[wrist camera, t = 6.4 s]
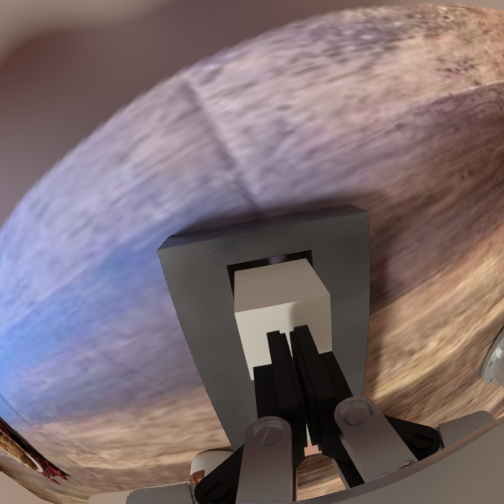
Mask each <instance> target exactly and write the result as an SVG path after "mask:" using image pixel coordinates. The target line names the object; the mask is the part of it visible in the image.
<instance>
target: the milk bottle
mask: <svg viewBox="0 0 504 504" xmlns="http://www.w3.org/2000/svg"><path fill="white" fill-rule="evenodd" d="M233 453H234V452H232V451H208V452H204V453H200V454H198V455H197V456H195V458H194V459H193V460H192V465H191V474H190V484H195V483H198V482H199V481H200V480H201V479H203V478H204V477H205V476H206V475H208V474H209V473H210V472H211V471H213V470H214V469H215V468H216V467H217V466H219V465H220V464H221V463H222V462H223V461H225V460H226V459H227V458H228V457H229V456H230V455H232V454H233Z"/></svg>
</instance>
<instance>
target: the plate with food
mask: <svg viewBox="0 0 504 504" xmlns="http://www.w3.org/2000/svg"><path fill="white" fill-rule="evenodd" d="M0 421H1V422H2V423H4V425H5V422H3V421H2V419H1V418H0ZM5 427H6V428H7V429H9V428H8V426H7V425H5ZM5 427H4V426H3V425H2V424H1V423H0V449H2V450H3V451H4V452H5V453H6V454H8V455H9V456H11V457H12V458H14V459H15V460H17V461H18V462H19V463H21V464H23V465H25V466H26V467H28V468H30V469H32V470H34V471H36V472H39V473H42V474H43V475H44V476H47V477H48V478H49V479H50V476H51V473H52V476H54V477H55V475H56V476H59V477H61V478H62V479H67V478H66V477H65V476H64V475H63V474H62V473H60V471H58V470H56V469H55V468H53V467H52V466H51V465H50V464H48V461H46V459H45V460H44V459H43V458H40V457H39V456H38V455H37V454H36V453H35V452H33V451H32V450H31V449H29V448H28V447H27V446H25V445H26V443H23V444H25V445H24V446H25V447H26V448H28V449H29V450H30V452H31V453H28V452H27V451H25V450H24V449H23V448H22V447H21V446H20V445H18V444H17V443H16V442H15V440H13V439H12V438H11V437H10V436H9V434H10V432H9V431H8V430H7V429H6V428H5ZM9 430H10V429H9ZM10 431H11V430H10ZM11 432H12V431H11ZM12 433H13V432H12ZM14 434H15V433H14ZM21 441H22V440H21ZM22 442H23V441H22ZM51 480H52V481H54V482H55V483H57V484H59V485H61V484H60V483H58V482H57V481H56V480H54V479H51ZM67 481H68V479H67Z"/></svg>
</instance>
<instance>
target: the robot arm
mask: <svg viewBox="0 0 504 504" xmlns="http://www.w3.org/2000/svg"><path fill="white" fill-rule="evenodd" d="M266 335H267V340H268V346H269V352H270V357H271V363H272V364H267V365H261V366H255V367H253V376H254V386H255V397H256V407H257V417H258V419H257V420H255V421H254V422H253V423H251V424H250V426H249V427H248V428H247V431H246V435H245V442H244V444H243V445H242V446H241V447H239V448H238V449H237V450H236V451H235V452H234V453H233V454H232V455H230V456H229V457H228V458H227V459H226V460H225V461H223V462H222V463H221V464H220V465H219V466H217V467H216V468H215V469H214V470H213V471H211V472H210V473H209V474H208V475H206V476H205V477H204V478H203V479H201V480H200V481H199V482H198V483H195V484H190V485H189V484H188V483H184V484H178V485H171V486H164V487H155V488H145V489H138V490H134V491H133V492H131V493H130V494H129V496H128V497H127V500H126V504H504V416H503V417H501V418H498V419H496V420H495V419H494V417H493V416H492V414H490V413H489V412H487V411H477V412H475V413H472V414H469V415H466V416H463V417H460V418H457V419H454V420H451V421H448V422H444V423H441V424H438V426H437V427H434V428H431V427H429V426H425V425H421V424H416V423H412V422H408V421H404V420H401V419H397V418H393V417H390V416H386V415H383V414H382V413H381V411H380V410H379V409H378V407H377V406H376V405H375V404H374V403H373V402H372V401H371V400H369V399H367V398H365V397H354V396H353V394H352V392H351V390H350V388H349V385H348V383H347V381H346V379H345V377H344V375H343V372H342V370H341V368H340V366H339V364H338V362H337V360H336V358H335V355H334V353H333V352H332V351H328V352H324V353H320V354H319V352H318V350H317V347H316V345H315V342H314V340H313V337H312V335H311V332H310V330H309V328H308V325H302V326H297V327H294V331H290V332H289V335H290V343H291V351H292V355H291V351H290V348H289V344H288V341H287V337H286V334H285V333H280V331H279V330H277V331H272V332H267V333H266ZM481 378H482V380H483V381H484V382H485V383H486V384H489V383H493V382H495V381H496V380H497V381H498V382H499V383H500V384H501V385H502V386H503V387H504V328H503V330H502V331H501V333H500V334H499V335H498V337H497V339H496V340H495V342H494V343H493V345H492V347H491V349H490V350H489V352H488V354H487V356H486V359H485V361H484V363H483V366H482V370H481ZM306 424H307V426H306ZM307 428H308V432H309V436H310V440H311V444H312V446H315V445H317V446H318V450H319V452H320V451H322V454H323V455H326V456H328V457H330V458H331V459H332V462H333V464H334V466H335V468H336V470H337V472H338V474H339V476H340V478H341V480H342V482H343V483H344V485H345V487H346V490H343V491H339V492H336V493H332V494H328V495H324V496H320V497H315V498H311V499H306V500H301V501H297V467H298V466H299V465H300V464H301V462H302V461H303V460H304V459H305V450H304V448H306V447H308V440H307Z"/></svg>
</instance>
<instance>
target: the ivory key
mask: <svg viewBox="0 0 504 504" xmlns="http://www.w3.org/2000/svg"><path fill="white" fill-rule="evenodd" d="M234 314H235V318H236V322H237V326H238V330H239V334H240V338H241V342H242V346H243V350H244V354H245V358H246V361H247V365H248V369H249V373H250V377H251V380H254V376H253V367H255V366H261V365H267V364H272V363H271V357H270V352H269V346H268V340H267V335H266V333H267V332H272V331H277V330H279V331H280V333H285V334H286V337H287V341H288V344H289V348H290V351H291V343H290V335H289V332H290V331H294V327H297V326H302V325H308V328H309V330H310V332H311V335H312V337H313V340H314V342H315V345H316V347H317V350H318V352H319V354H320V353H324V352H328V351H332V332H331V305H330V294H329V292H328V291H327V289H326V288H325V286H324V285H323V283H322V282H321V280H320V279H319V277H318V276H317V274H316V273H315V271H314V270H313V268H312V267H311V265H310V264H309V262H308V261H307V259H306V258H305V259H299V260H294V261H289V262H284V263H278V264H273V265H268V266H262V267H257V268H251V269H246V270H240V271H235V286H234ZM291 355H292V351H291Z"/></svg>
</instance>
